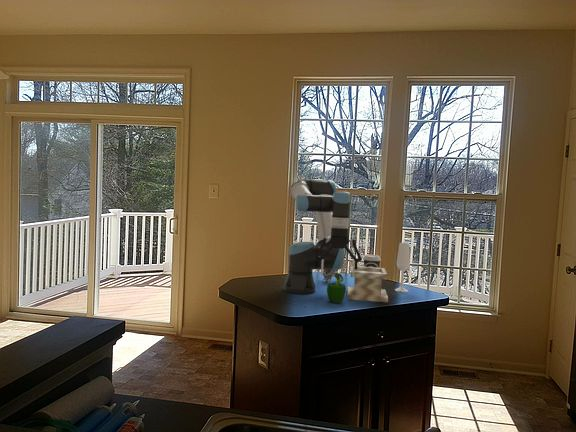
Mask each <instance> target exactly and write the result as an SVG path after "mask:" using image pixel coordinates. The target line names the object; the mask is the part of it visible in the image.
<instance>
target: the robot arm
mask: <svg viewBox="0 0 576 432" xmlns="http://www.w3.org/2000/svg"><path fill="white" fill-rule="evenodd" d="M289 191H290V193H289V194H290V195H291V197H292V198H293V199H294V200H295V210H296V211H298V212H310V213H311V212H315V213H316V222H317V223H316V224H317V232H318V233H317V234H318V241H316V244H315V242H313V241H301V242H294V243H291V244H290V246H289V251H288V271H287V272H288V274H287V276H286V279H285V282H284V285H283V291H285V292H287V293H291V294H298V295H300V294H301V295H309V294H313V293H315V292H316V284H315V280H314V276H313V272H314V271H313V270H320V276H323V271H324V270H338V271H339V270H341V269H342V268H343V264H344V262H345V261H344V260H345V253H346V252H347V254H348V255H349V256H350V257H351V258H352V259H353V261H352V266H353V272H352V277H351V278H355V277H354V269H357V266H358V263H359V262H362V261H363V257H362V256H361V253H360V252H359V249H358V246H357V244H356V239H355V238H353V239H349V227H350V212H351V211H350V208H351V207H350V206H351V192H347V191H338V190H337V184H336V182H335V181H333V180H332V179H318V178H317V179H315V178H302V179H299V180H296V181H295V182H294V183H292V185H291V186H290V190H289ZM349 243H350V245H352V247H353V249H354V252H355V253H356V256H357V257H356V256H355V255H354V253H353V251H351V249H350V248H349V246H348V244H349Z"/></svg>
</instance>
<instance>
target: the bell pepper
mask: <svg viewBox="0 0 576 432" xmlns="http://www.w3.org/2000/svg"><path fill="white" fill-rule="evenodd" d="M339 281H340V283H339ZM346 289H347V288H346V284H343V282H342V280H341V278H340V279H339V280H337V279H336V282H335V283H333V282H330V283H329V284H327V286H326V293H327V298H328V301H329V302H331V303H334V304H341V303H342V302H343V301H344V298H345V296H346Z"/></svg>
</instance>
